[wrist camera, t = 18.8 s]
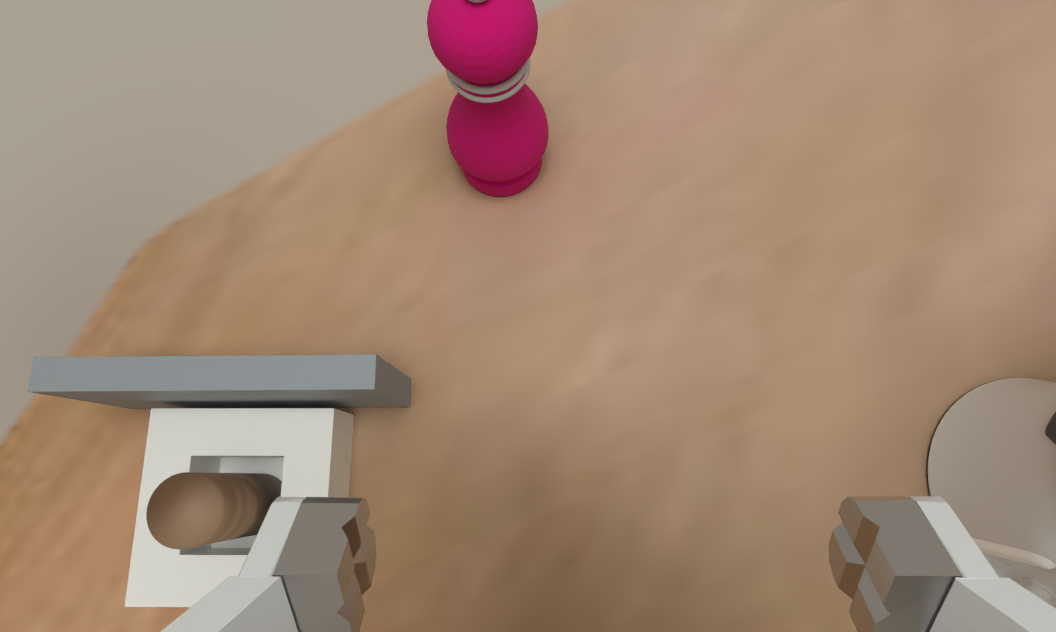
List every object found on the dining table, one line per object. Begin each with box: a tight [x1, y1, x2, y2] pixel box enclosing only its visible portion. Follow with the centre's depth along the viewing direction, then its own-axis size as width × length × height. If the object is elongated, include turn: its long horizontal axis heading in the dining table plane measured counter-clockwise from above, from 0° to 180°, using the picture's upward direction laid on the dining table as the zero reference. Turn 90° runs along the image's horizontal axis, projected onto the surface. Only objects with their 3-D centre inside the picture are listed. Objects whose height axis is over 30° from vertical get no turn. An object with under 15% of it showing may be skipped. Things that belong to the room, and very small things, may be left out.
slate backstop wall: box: [28, 355, 411, 409], centre depth 43 cm, size 2×20×10 cm, turn 90°
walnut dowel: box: [146, 472, 282, 549], centre depth 41 cm, size 4×4×10 cm
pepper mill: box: [427, 0, 548, 197], centre depth 42 cm, size 7×7×20 cm
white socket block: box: [125, 408, 354, 607], centre depth 44 cm, size 12×12×5 cm
